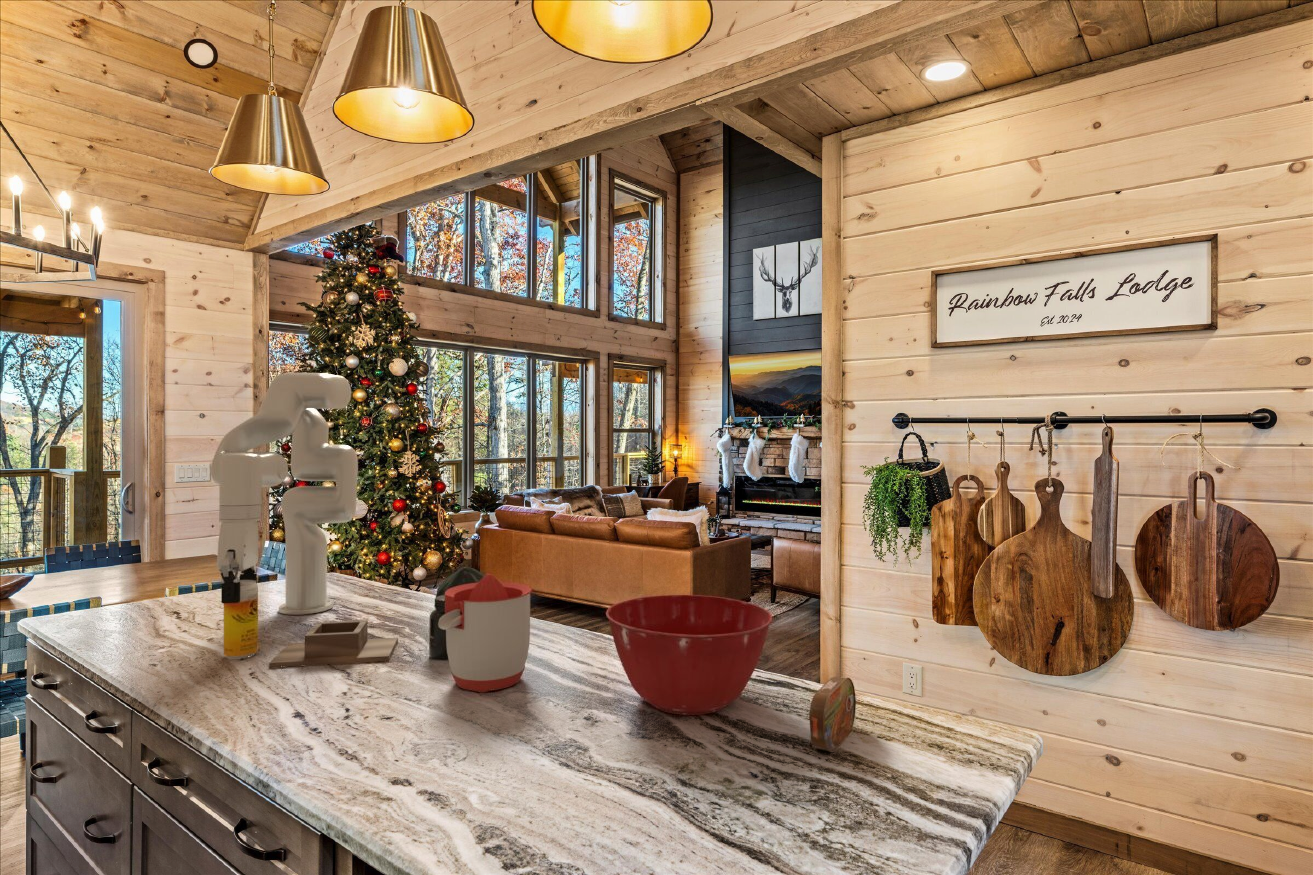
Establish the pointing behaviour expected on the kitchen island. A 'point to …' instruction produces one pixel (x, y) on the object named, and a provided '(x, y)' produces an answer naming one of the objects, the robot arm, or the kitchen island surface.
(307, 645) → the can caddy
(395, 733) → the kitchen island surface
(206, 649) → the kitchen island surface
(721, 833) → the kitchen island surface
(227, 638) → the beer can
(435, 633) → the supplement bottle
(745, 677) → the mixing bowl
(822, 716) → the tin
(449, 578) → the squash
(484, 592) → the citrus juicer
